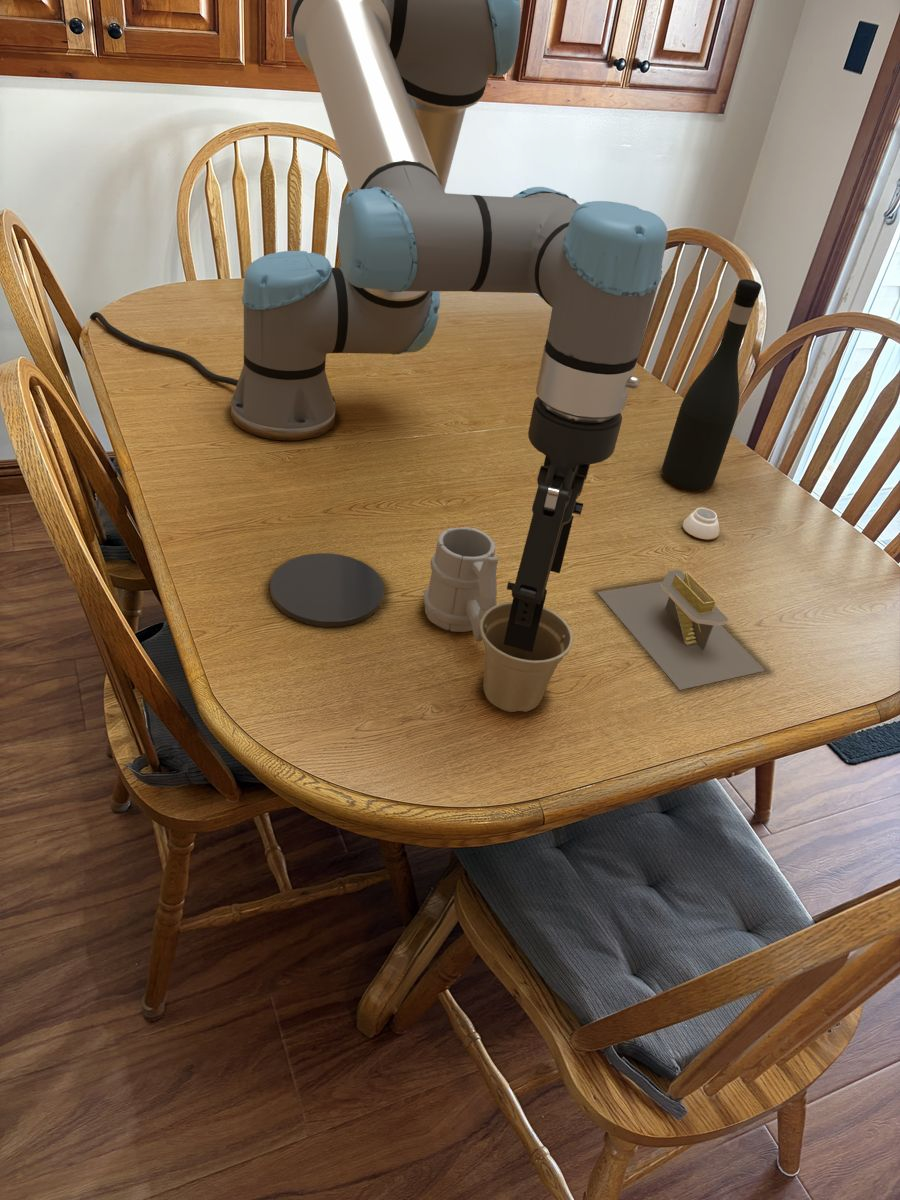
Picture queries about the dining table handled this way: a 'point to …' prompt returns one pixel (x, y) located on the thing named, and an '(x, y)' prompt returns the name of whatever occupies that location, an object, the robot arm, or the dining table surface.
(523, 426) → the dining table surface
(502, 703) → the flower pot
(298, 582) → the coaster
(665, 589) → the platform
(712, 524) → the small white bowl
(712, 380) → the wine bottle
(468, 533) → the mug
